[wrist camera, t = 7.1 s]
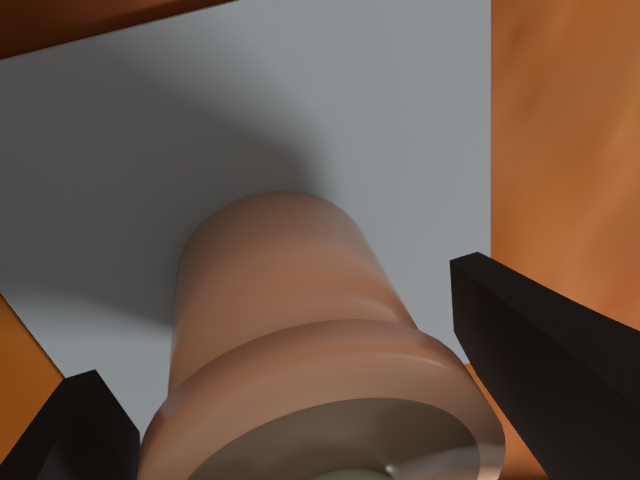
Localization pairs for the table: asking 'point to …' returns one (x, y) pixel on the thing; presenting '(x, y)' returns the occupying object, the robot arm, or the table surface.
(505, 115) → the table surface
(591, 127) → the table surface
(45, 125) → the slate mat
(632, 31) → the table surface
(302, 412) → the terracotta pot
